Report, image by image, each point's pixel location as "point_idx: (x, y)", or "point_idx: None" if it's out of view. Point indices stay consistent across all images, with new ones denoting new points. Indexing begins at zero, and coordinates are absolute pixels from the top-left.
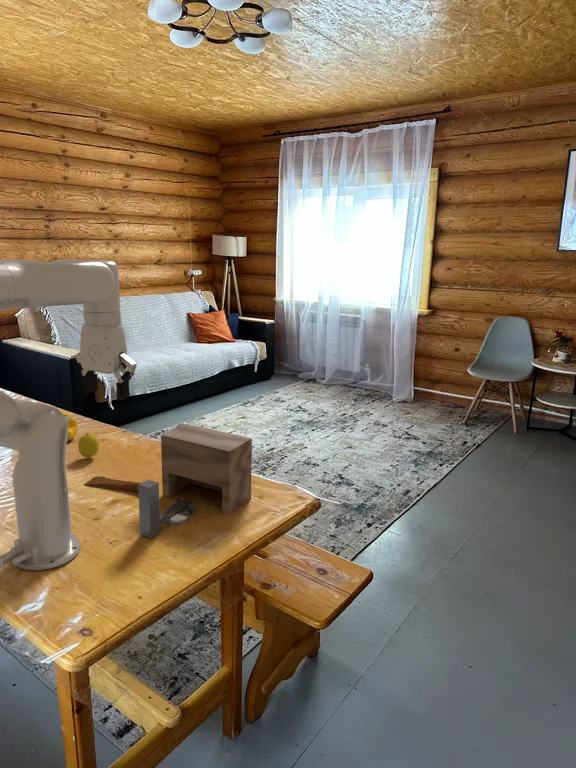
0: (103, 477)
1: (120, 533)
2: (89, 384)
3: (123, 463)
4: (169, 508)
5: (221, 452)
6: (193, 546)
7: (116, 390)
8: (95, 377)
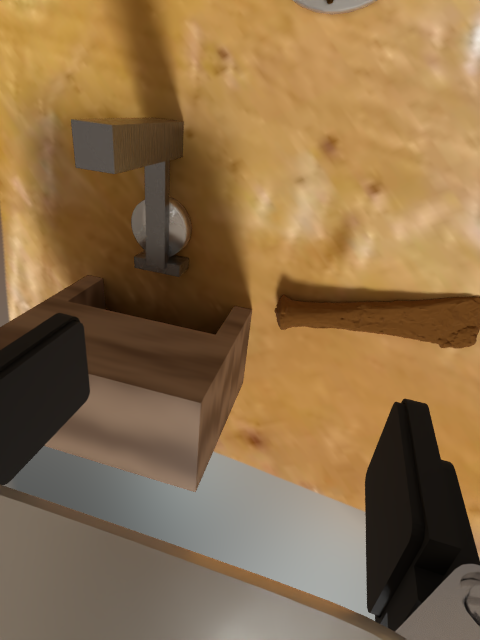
0: (442, 341)
1: (229, 106)
2: (394, 475)
3: (438, 427)
4: (159, 220)
5: (2, 344)
6: (64, 131)
7: (31, 357)
8: (371, 577)
